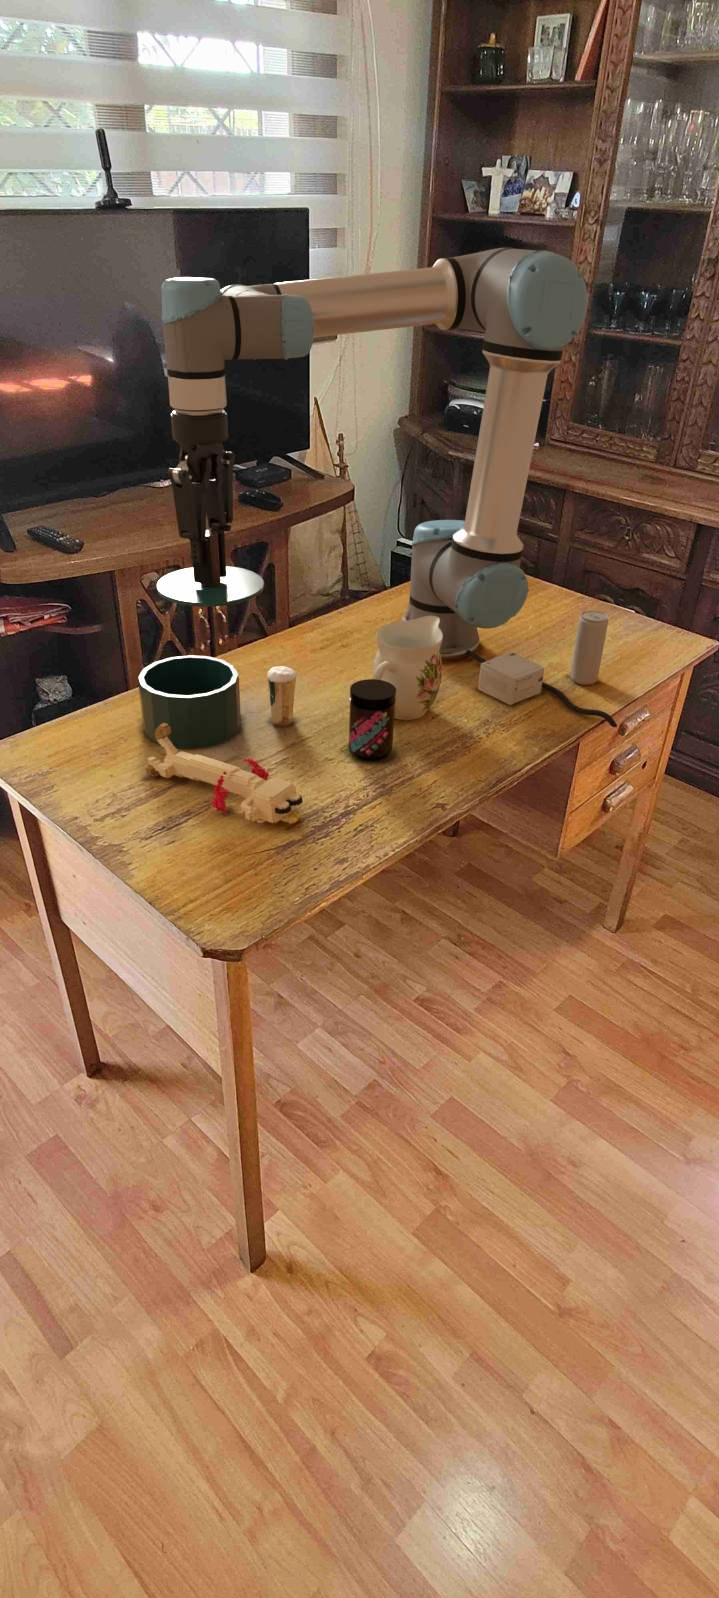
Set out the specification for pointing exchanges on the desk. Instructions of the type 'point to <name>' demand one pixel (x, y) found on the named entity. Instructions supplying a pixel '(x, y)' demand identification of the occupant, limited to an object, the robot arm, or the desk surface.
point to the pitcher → (410, 663)
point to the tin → (191, 700)
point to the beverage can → (589, 647)
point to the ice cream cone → (281, 694)
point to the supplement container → (371, 719)
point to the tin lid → (220, 592)
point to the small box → (510, 678)
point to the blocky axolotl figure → (230, 782)
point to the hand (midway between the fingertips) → (210, 578)
